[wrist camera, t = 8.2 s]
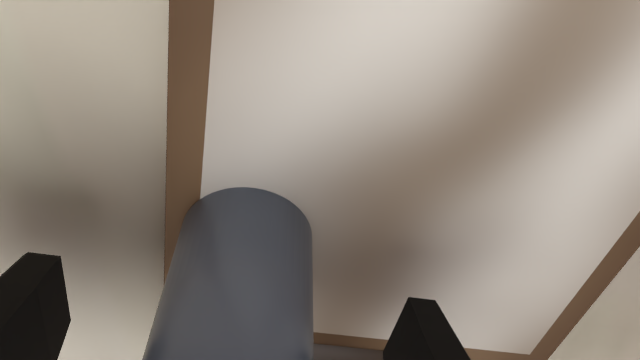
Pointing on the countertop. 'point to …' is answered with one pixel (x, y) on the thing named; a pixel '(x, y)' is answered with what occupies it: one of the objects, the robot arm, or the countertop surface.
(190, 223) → the bottle
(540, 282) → the picture frame
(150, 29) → the countertop surface
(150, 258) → the countertop surface
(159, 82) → the countertop surface
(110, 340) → the countertop surface
